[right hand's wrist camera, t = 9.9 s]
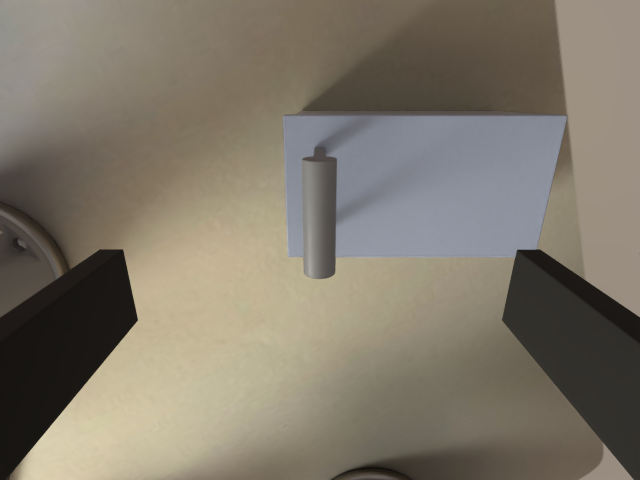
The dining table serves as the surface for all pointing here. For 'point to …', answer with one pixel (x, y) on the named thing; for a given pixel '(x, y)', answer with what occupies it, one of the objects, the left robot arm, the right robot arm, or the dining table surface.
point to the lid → (416, 185)
